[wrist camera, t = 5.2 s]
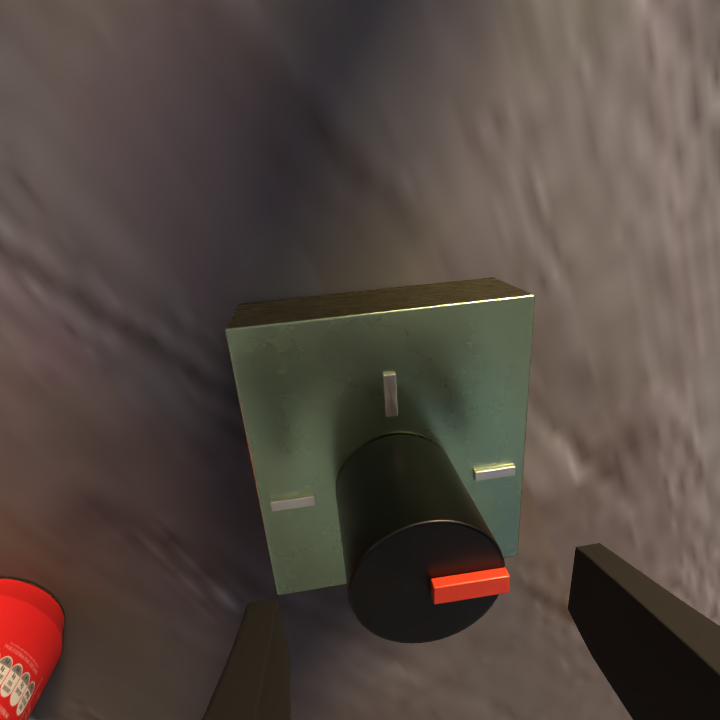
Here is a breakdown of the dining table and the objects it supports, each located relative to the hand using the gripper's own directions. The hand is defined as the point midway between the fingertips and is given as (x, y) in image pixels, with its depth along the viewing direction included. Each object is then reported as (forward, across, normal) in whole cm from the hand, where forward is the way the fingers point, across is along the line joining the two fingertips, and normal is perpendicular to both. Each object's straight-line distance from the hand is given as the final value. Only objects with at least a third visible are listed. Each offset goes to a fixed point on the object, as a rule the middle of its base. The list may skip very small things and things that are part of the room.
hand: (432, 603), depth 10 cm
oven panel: (+8, 0, -1) cm, 8 cm away
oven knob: (+4, 0, 0) cm, 4 cm away
